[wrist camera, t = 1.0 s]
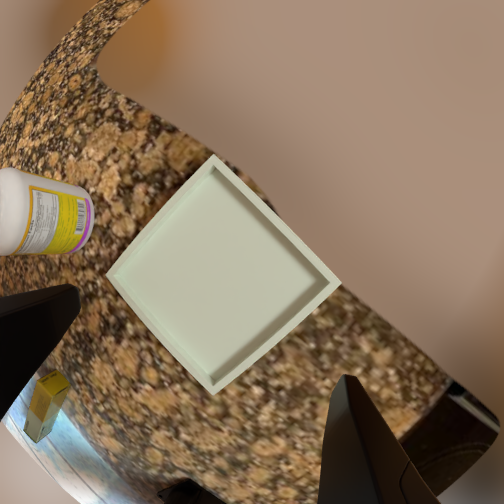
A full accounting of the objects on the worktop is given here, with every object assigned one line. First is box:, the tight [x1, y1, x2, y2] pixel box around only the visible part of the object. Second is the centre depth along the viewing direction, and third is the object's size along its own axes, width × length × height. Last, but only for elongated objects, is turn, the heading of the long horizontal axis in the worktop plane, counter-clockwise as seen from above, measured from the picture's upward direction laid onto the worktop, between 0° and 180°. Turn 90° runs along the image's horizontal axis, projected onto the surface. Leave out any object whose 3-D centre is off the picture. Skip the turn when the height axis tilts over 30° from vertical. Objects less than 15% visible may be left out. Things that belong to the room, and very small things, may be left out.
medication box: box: [23, 370, 71, 443], centre depth 24 cm, size 12×3×4 cm, turn 144°
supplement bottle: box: [0, 168, 94, 256], centre depth 18 cm, size 7×7×13 cm
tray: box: [106, 154, 342, 395], centre depth 22 cm, size 13×13×2 cm
